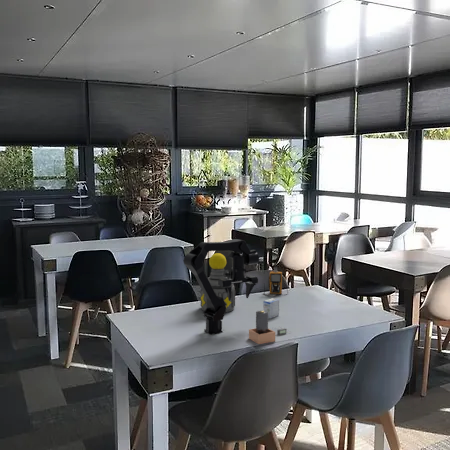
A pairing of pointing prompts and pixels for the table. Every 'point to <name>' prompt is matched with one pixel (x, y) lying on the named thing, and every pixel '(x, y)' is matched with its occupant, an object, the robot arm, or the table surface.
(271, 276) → the multimeter
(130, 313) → the table surface
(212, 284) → the decorative lamp
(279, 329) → the checker pad
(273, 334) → the cup
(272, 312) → the medicine box
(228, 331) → the table surface
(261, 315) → the cell
